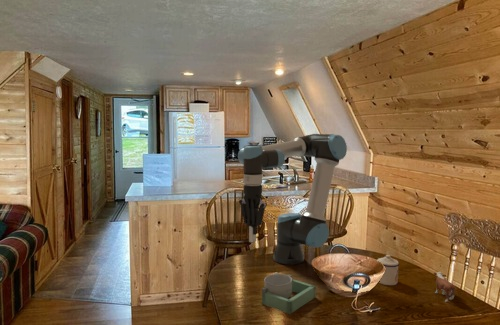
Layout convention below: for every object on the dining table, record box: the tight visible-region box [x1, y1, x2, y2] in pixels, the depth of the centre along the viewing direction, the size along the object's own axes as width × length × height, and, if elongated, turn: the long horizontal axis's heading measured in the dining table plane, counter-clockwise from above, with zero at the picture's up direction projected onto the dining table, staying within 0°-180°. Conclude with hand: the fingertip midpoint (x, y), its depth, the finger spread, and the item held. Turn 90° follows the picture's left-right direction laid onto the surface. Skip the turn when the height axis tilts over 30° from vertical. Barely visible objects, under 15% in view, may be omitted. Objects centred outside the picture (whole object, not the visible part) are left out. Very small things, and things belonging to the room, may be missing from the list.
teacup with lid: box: [376, 254, 400, 286], centre depth 168 cm, size 12×9×12 cm
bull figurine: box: [433, 271, 456, 303], centre depth 153 cm, size 4×13×8 cm, turn 176°
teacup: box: [263, 271, 293, 299], centre depth 151 cm, size 14×11×8 cm
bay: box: [261, 274, 316, 315], centre depth 148 cm, size 18×12×6 cm
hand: (252, 241), depth 158 cm, fingers closed
